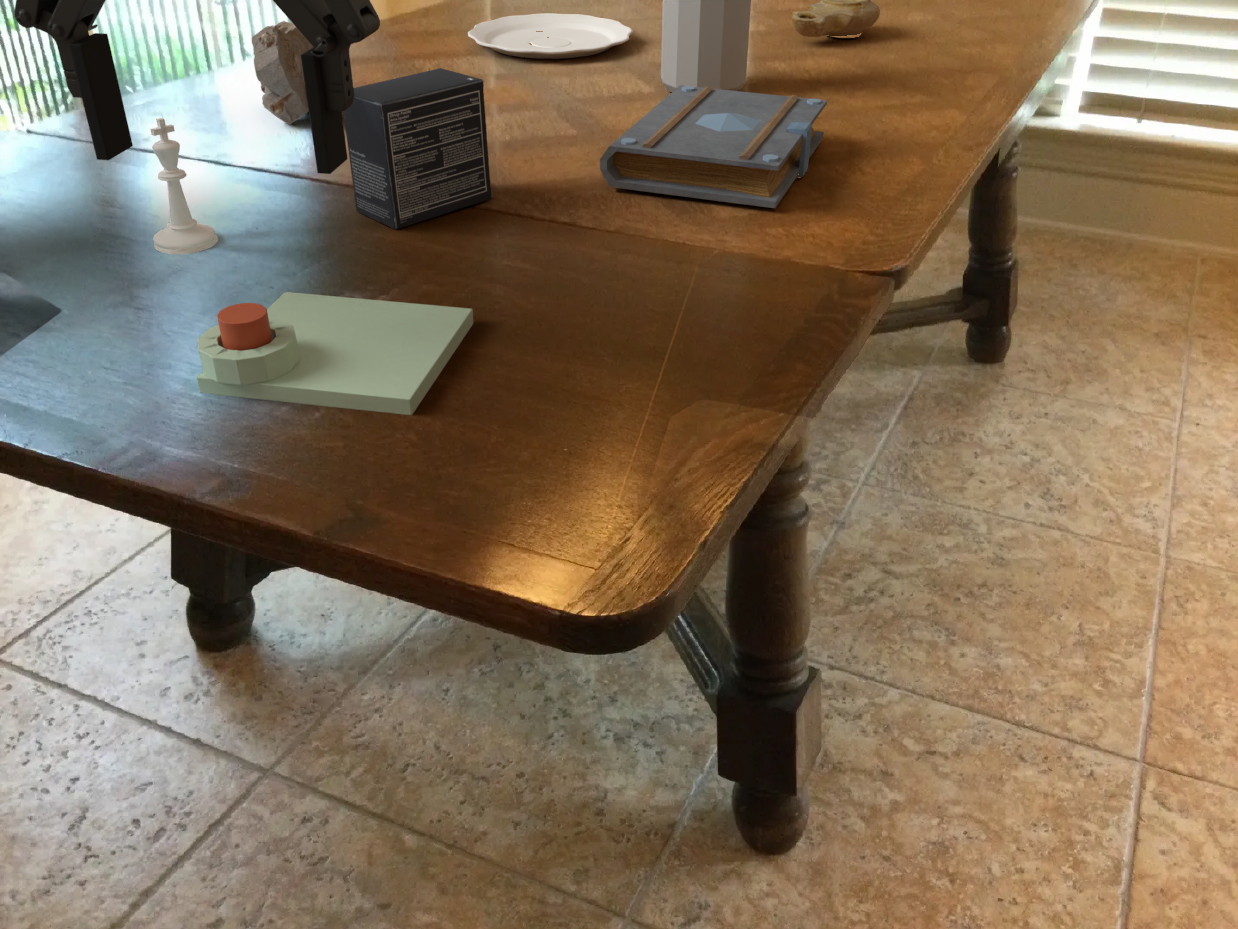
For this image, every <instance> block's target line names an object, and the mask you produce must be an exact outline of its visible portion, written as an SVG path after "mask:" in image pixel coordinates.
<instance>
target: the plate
mask: <svg viewBox="0 0 1238 929" xmlns="http://www.w3.org/2000/svg"><path fill="white" fill-rule="evenodd" d="M536 31H543V32H536ZM632 34H633V29H632V28H631V27H629V26H627V25H624V24H623V23H622V22H621V21H618V20H615V19H611V18H604V17H598V16H593V15H590V14H589V15H588V14H579V13H576V14H575V13H553V12H552V13H551V12H548V13H547V12H546V13H542V12H541V13H532V14H531V13H530V14H517V15H515V14H514V15H508V16H501V17H498V18H495V19H491V20H485V21H482V22H479V23H477V24H475V25H474V27H473V28H472V29H470V30H469V31H467V37H469V39H472V40H474V42H475V43H476V44H477V45H480V46H482V47H485V48H490V49H491V50H493V51H494V52H497V53H498V54H499V53H500V54H503V55H507V56H512V57H517V58H524V57H525V59H538V60H542V59H543V60H549V59H550V60H560V59H574V58H582V57H588V56H592V55H597V54H601V53H603V52H605V51H608V50H610V49H611V48H612V47H615V46H619V45H622V44H625V43H626V42H628V41H629V40H630V38H629V37H630V36H631V35H632ZM547 37H549V38H547ZM529 43H531V44H532V45H530V44H529Z"/></svg>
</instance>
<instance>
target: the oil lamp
mask: <svg viewBox="0 0 1238 929" xmlns="http://www.w3.org/2000/svg"><path fill="white" fill-rule="evenodd" d="M880 14H881V9H880V6H879V5H878V4H877V3H876V2H874V1H872V0H819V1H817V2H816V3H813V4H809V5H808V6H807V9H806V10H804V11H800V10H795V11H792V14H791V24H792V26H793V28H794V29H795V31H796V32H797V33H798V34H799V35H801V36H803V37H807V38H820V37H822V36H823V37H824V36H825V37H826V35H829V36H847V35H857V34H860V33H862V32H863V31H864V32H865V31H867V30H869V29H870V28H871V27H873V26H874V25H875V24H876V22H877V21H878V19H880V16H881V15H880ZM864 32H863V33H864Z"/></svg>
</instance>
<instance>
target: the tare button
mask: <svg viewBox="0 0 1238 929" xmlns="http://www.w3.org/2000/svg"><path fill="white" fill-rule="evenodd" d="M267 309H268V308H266V306H264V305H262V304H259V303H253V302H242V303H236V304H231V305H227V306H226V307H224V308H222V309H221V310H220V311H219V312H217V315H216V318H217V324H218V325H219V328H220V333H221V338H222V343H223V347H224V348H225V349H228V350H238V351H243V350H250V349H257V348H259V347H261V346H264V345H266V344H269V343H270V342H271V341H272V335H271V330H270V324H269V318H268V313H267Z"/></svg>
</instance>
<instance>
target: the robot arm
mask: <svg viewBox="0 0 1238 929" xmlns="http://www.w3.org/2000/svg"><path fill="white" fill-rule="evenodd" d="M106 1H107V0H15V5H14V12H13V13H14V14H13V15H14V18H15V21H16V22H17V23H18V25H20V26H21V27H22V28H24V29H31V28H35V29H37V30H39V31H41V32H44V33H46V34H48V35H49V36H50V37H51V38H52V39H53V41H54V42H55V44H56V47H57V51H58V55H59V59H60V62H61V66H62V70H63V74H64V78H65V82H66V86H67V89H68V91H69V92H70V94H71V96H72V98H76V99H77V98H79V99H81V101H82V105H83V109H84V112H85V116H86V119H87V125H88V128H89V133H90V137H91V141H92V145H93V150H94V153H95V156H96V160H98V161H99V160H100V161H110V160H112V159H114V158H115V157H117V156H118V155H120V154H123V153H125V151H127V150H129V149H130V148H132V147H133V146H134V144H133V140H132V136H131V131H130V127H129V123H128V118H127V114H126V109H125V106H124V101H123V97H122V92H121V87H120V83H119V80H118V75H117V70H116V66H115V61H114V58H113V54H112V49H111V48H112V47H111V44H110V39H109V35H108V33H102V32H101V33H100V32H95V33H92V34H90V33H89V31H92V30H95V29H96V28H97V27H98V26H99V24H97V23H95V22H96V20H97V17H98V16H99V14H100V12H101V10H102V9H103V6H104V4H105V3H106ZM272 2H273V3H274V4H275V5H276V6H277V7H278V9H280V10H281V12H282V13H283V14H284V15H285V16H286V17H287V19H288V20H289V21H290V23H292V24H294V25H295V26H296V27H297V29H298V30H299V31H300V32H301V33H302V34H303V35H304V36H305V38H306V39H307V40H308V41H309V42H310V43H311V44H312V46H313V48H312V49H310V50H308V51H307V52H305V53H303V54H302V55H301V61H302V67H303V74H304V81H305V88H306V95H307V102H308V109H309V111H308V114H309V115H308V117H309V123H310V130H311V137H312V143H313V144H312V145H313V151H314V158H315V164H316V170H317V171H316V172H317V174H322V175H323V174H324V175H331V174H332V173H334V171H335V170H337V169H338V168H339V167H340V166H342V164H344V163H345V162H346V161H347V160H348V158H349V157H348V151H347V150H348V149H347V144H346V134H345V126H344V118H343V111H345V110H346V109H347V108H349V107H350V106H351V105H352V103H353V100H354V88H355V87H354V81H353V73H352V66H351V65H352V64H351V56H350V48H351V45H353V44H358V43H361V42H362V41H363V40H365V39H367V38H368V37H370V36H372V35H373V34H374V33H376V32H377V31H378V30H379V29H380V26H381V20H380V17H379V15H378V12H377V11H376V9H375V7H374V5H373V4H372V2H371V0H272Z"/></svg>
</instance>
